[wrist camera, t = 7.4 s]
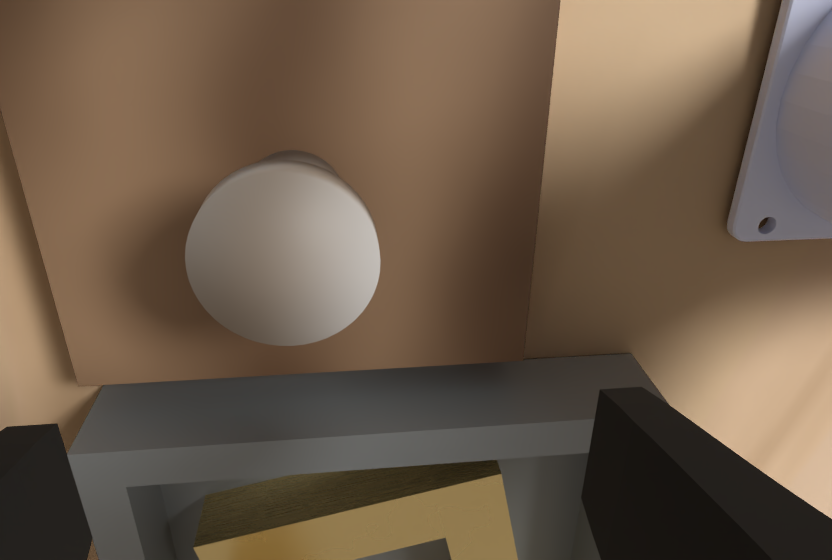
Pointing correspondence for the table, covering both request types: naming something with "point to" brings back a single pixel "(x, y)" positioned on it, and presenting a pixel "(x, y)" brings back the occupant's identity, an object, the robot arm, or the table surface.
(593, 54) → the table surface
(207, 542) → the ring
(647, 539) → the robot arm
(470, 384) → the tray
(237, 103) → the stake base
